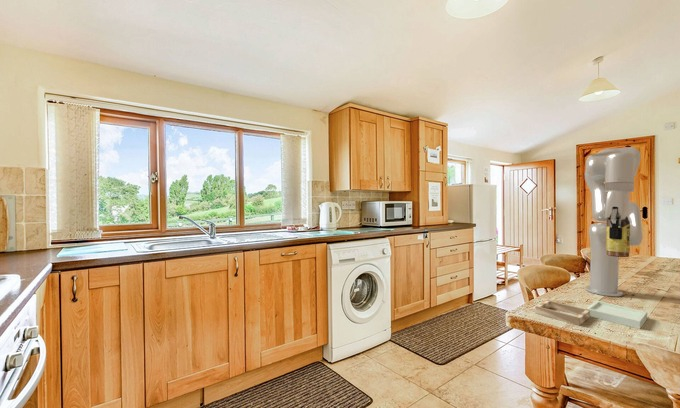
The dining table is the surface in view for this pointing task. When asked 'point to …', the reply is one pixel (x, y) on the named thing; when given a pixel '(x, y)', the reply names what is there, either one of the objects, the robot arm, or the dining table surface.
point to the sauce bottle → (619, 246)
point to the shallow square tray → (617, 314)
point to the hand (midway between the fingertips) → (617, 237)
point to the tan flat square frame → (582, 313)
